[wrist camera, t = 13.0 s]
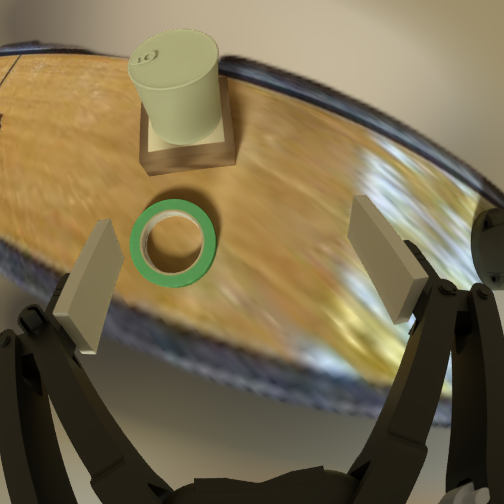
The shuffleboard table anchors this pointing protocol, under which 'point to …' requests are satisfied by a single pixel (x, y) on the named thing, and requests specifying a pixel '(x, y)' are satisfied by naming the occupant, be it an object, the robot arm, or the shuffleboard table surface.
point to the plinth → (190, 155)
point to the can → (178, 84)
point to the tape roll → (144, 228)
